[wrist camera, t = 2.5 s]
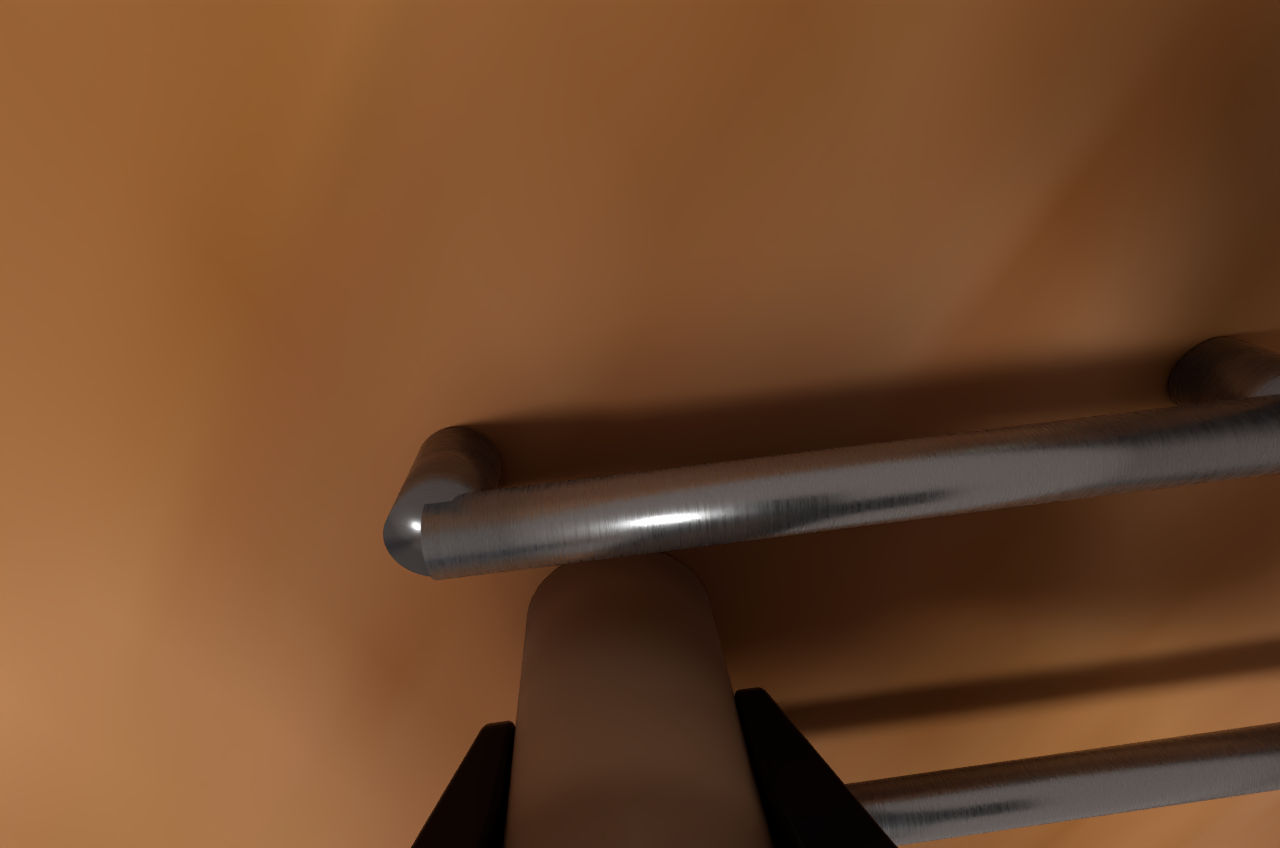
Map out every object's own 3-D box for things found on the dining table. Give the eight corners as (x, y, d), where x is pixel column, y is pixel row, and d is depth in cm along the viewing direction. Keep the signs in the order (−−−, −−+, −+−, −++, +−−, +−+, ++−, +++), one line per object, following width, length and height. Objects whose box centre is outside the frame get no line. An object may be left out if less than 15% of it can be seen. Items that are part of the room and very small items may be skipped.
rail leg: (1431, 660, 13) (1587, 760, 11) (513, 788, 13) (500, 919, 11) (1691, 281, 10) (1994, 327, 8) (409, 433, 9) (356, 528, 7)
